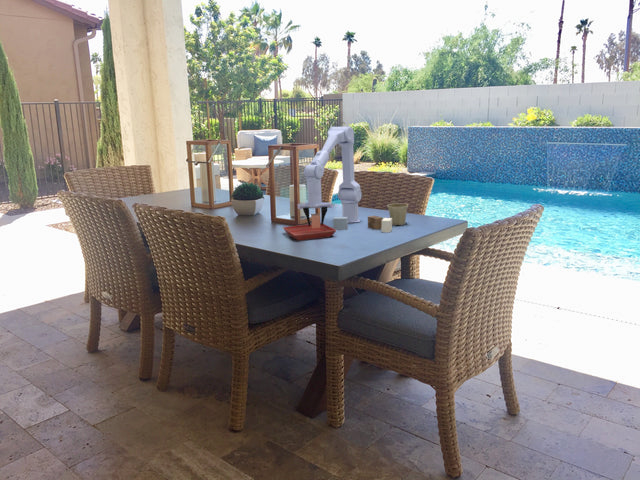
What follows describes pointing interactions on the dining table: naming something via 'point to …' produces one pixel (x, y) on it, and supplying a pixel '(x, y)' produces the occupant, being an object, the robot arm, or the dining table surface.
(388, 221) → the cream brick
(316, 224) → the terracotta brick
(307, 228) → the plant saucer
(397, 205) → the flower pot
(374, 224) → the walnut brick
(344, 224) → the slate-blue brick
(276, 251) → the dining table surface
